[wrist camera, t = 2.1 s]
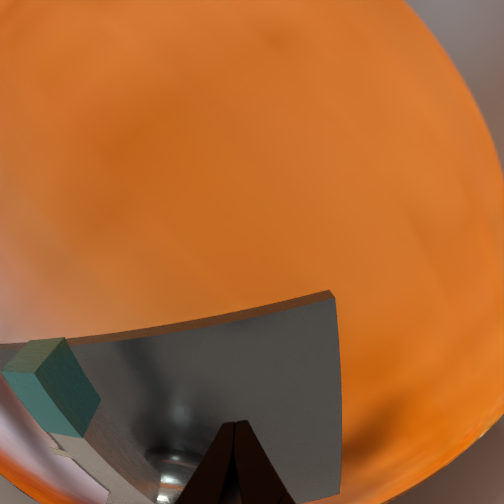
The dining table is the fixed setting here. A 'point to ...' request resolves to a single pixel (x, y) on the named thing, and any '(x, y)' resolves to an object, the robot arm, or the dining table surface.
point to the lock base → (227, 387)
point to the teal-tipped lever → (88, 425)
